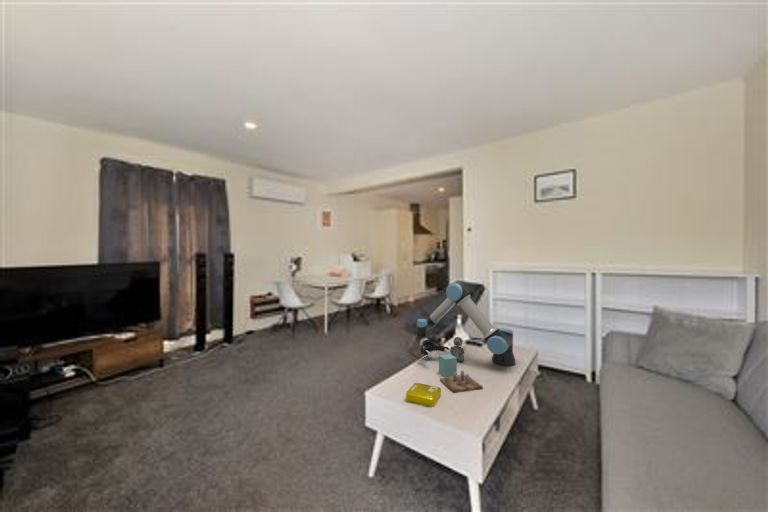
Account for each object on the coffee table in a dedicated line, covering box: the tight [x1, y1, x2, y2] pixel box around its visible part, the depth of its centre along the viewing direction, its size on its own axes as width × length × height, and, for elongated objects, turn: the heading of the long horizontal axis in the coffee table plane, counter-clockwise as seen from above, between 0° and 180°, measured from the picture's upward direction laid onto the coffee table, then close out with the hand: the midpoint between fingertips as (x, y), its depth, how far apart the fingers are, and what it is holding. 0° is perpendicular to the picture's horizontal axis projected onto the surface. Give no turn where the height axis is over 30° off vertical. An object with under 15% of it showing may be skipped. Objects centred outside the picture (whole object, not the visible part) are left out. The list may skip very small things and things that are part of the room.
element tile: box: [405, 382, 442, 408], centre depth 165 cm, size 15×15×5 cm
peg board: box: [439, 370, 483, 394], centre depth 180 cm, size 18×16×6 cm
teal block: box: [438, 353, 458, 378], centre depth 196 cm, size 8×8×11 cm
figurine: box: [449, 336, 465, 364], centre depth 220 cm, size 9×12×15 cm
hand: (440, 354), depth 205 cm, fingers open, 13 cm apart
